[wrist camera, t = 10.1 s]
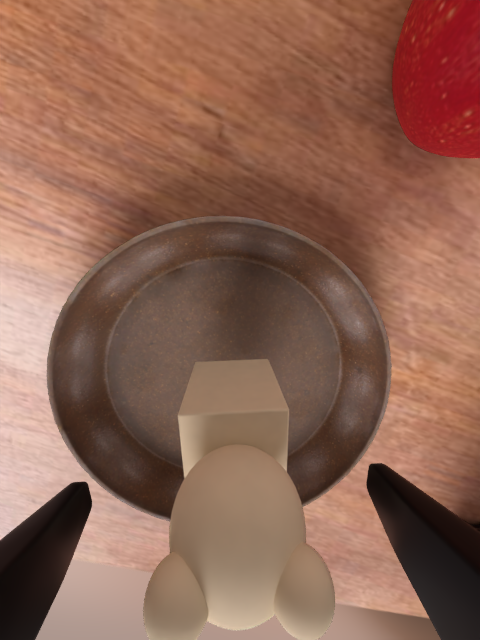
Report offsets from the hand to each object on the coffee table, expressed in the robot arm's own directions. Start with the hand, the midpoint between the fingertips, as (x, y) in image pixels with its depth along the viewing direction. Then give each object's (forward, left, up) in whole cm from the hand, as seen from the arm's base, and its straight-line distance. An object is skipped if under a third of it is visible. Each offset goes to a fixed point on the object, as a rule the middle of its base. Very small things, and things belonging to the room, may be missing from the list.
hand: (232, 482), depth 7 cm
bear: (0, 0, -4) cm, 5 cm away
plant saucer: (0, 0, -8) cm, 8 cm away
